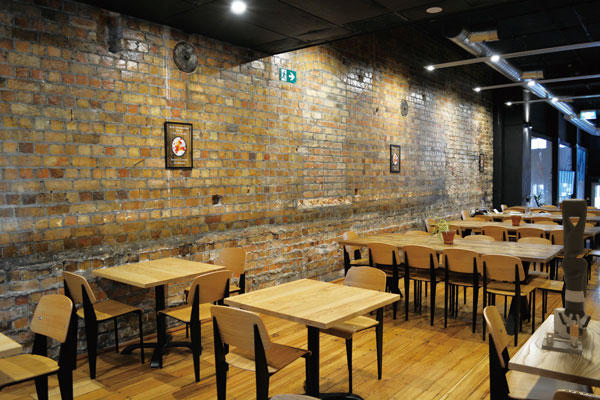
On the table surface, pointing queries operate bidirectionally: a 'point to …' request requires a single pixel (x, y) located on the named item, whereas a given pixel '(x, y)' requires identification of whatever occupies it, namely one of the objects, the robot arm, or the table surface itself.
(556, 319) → the skincare box
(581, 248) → the robot arm
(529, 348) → the table surface
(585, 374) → the table surface
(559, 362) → the table surface
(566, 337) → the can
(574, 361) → the table surface
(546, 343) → the gauge board
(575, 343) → the divider leg
